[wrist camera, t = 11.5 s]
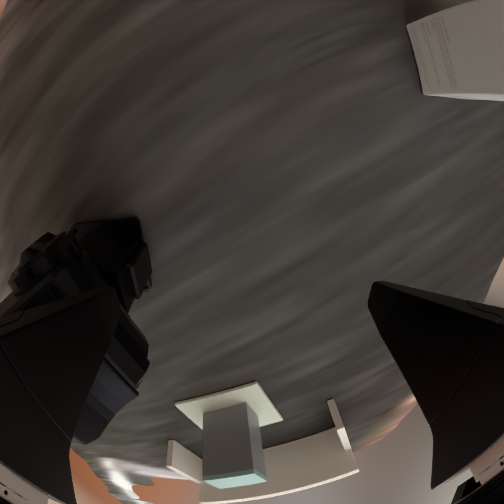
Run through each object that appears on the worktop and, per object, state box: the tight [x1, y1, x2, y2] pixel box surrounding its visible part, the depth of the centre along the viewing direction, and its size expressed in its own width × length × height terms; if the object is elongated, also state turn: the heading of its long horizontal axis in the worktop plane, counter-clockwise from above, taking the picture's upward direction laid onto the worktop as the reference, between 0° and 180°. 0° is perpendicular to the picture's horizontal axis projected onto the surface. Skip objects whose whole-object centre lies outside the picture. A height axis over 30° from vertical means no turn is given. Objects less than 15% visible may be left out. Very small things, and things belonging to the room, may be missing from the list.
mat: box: [174, 381, 283, 430], centre depth 32 cm, size 10×11×1 cm
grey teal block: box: [202, 402, 267, 489], centre depth 27 cm, size 4×6×10 cm, turn 112°
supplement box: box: [406, 0, 504, 101], centre depth 11 cm, size 7×7×13 cm
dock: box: [166, 398, 359, 504], centre depth 32 cm, size 12×26×9 cm, turn 112°
